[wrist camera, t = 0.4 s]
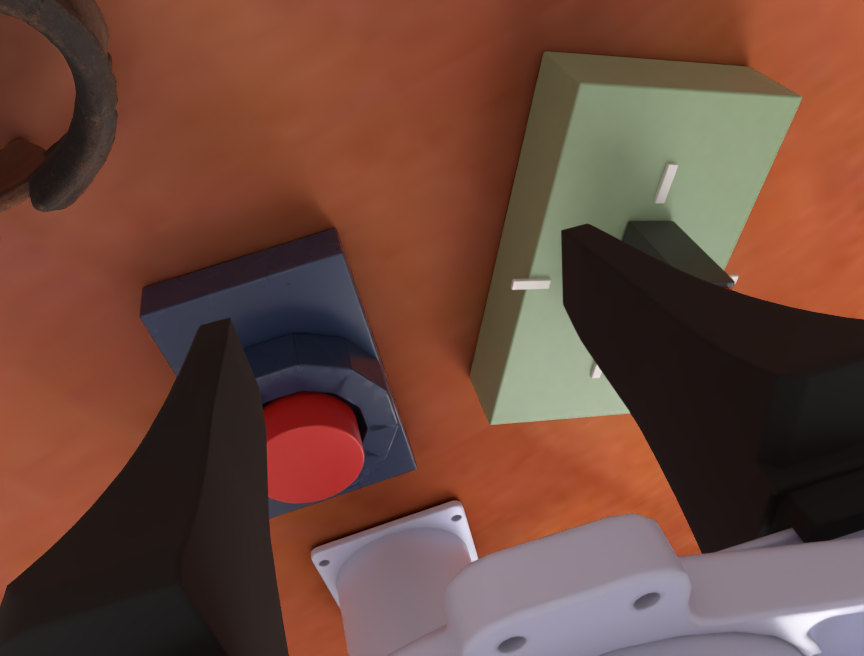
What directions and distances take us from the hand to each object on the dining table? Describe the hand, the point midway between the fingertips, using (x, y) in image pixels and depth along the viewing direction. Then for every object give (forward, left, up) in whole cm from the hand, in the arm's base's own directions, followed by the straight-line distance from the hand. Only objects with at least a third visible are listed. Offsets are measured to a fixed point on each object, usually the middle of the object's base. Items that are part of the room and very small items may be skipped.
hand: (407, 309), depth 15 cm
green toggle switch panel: (-8, -8, -10) cm, 15 cm away
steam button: (-10, +5, -7) cm, 13 cm away
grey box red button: (-10, +5, -10) cm, 15 cm away
